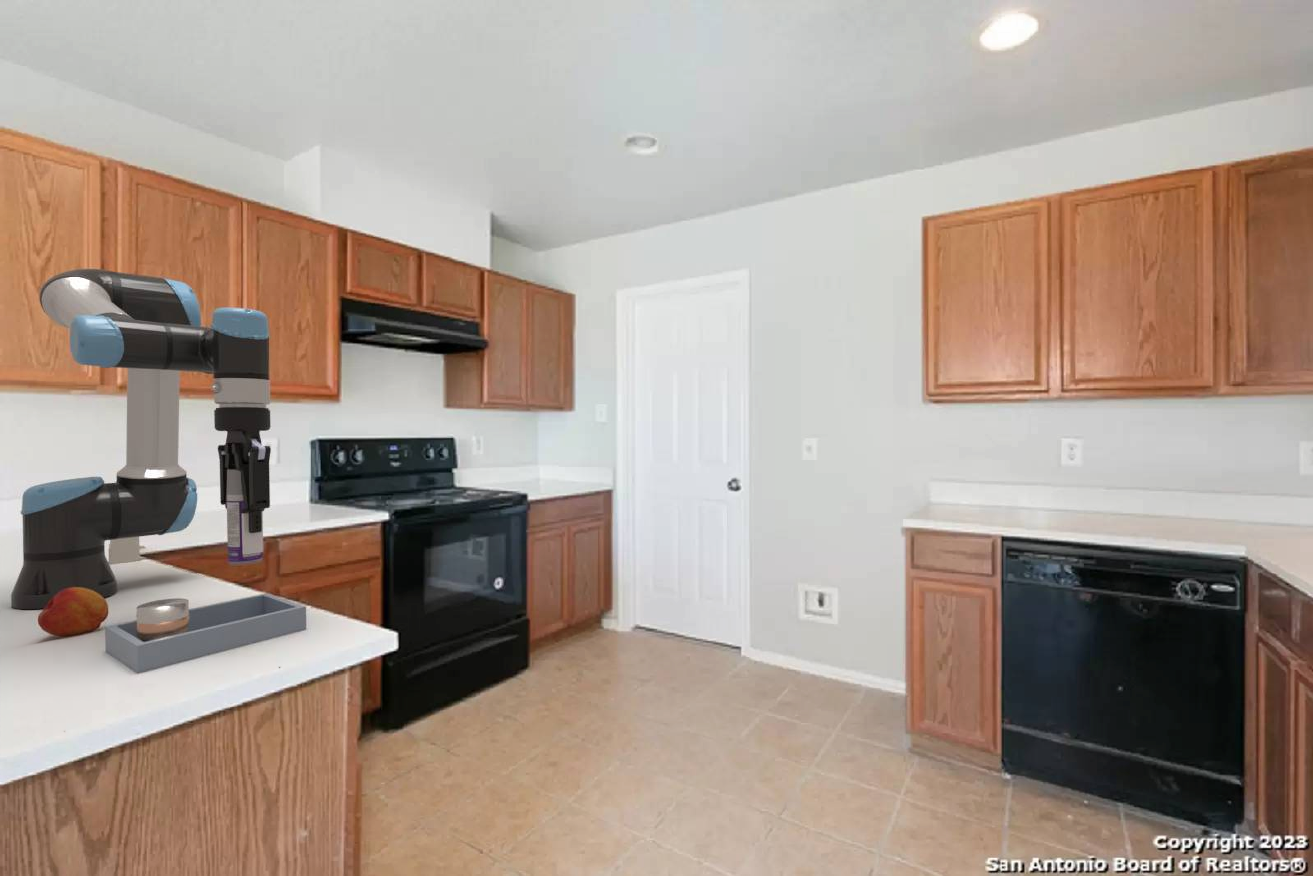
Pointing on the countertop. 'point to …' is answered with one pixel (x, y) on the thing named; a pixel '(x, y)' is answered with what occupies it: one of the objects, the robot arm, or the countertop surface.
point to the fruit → (73, 612)
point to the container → (236, 521)
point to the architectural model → (124, 550)
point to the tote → (208, 632)
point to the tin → (162, 619)
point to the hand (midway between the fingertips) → (245, 550)
